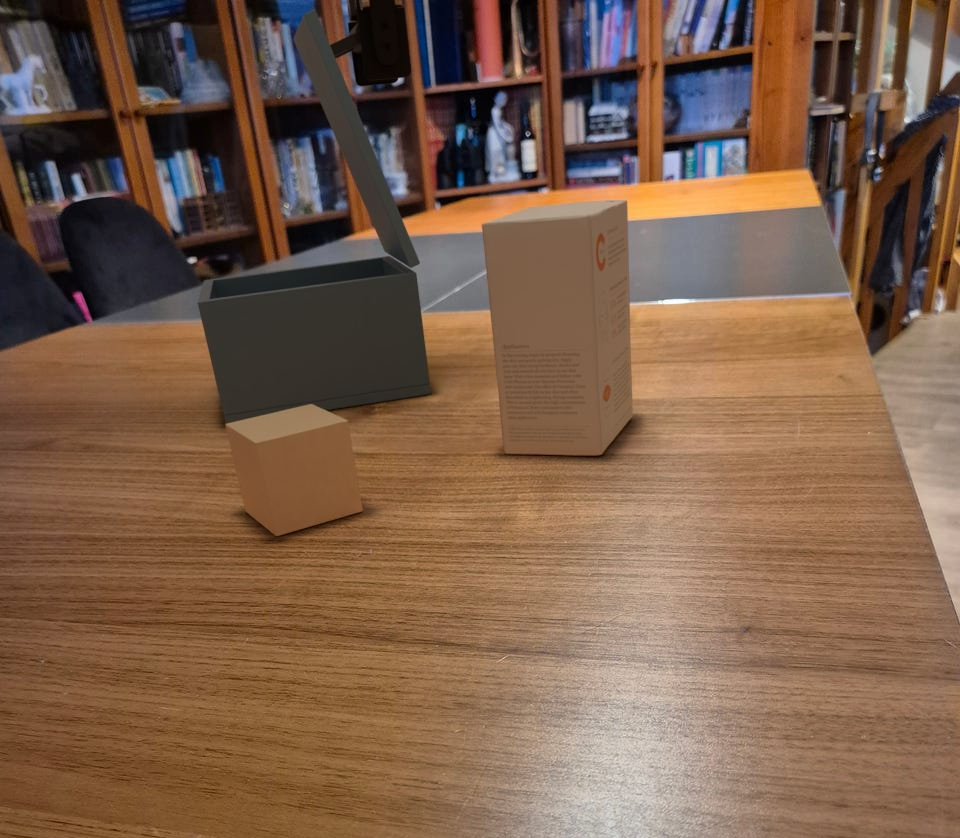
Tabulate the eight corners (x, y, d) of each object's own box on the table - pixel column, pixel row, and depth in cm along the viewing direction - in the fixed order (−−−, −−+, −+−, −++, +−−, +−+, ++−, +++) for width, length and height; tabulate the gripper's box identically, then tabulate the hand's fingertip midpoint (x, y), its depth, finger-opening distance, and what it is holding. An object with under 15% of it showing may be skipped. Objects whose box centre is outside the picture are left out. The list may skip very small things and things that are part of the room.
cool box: (226, 426, 69) (197, 302, 65) (227, 387, 81) (203, 280, 76) (431, 394, 71) (416, 272, 67) (403, 361, 83) (389, 255, 79)
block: (276, 537, 48) (255, 442, 46) (245, 511, 52) (224, 423, 49) (363, 511, 50) (348, 419, 48) (327, 489, 54) (311, 403, 51)
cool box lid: (303, 14, 59) (374, -20, 59) (292, 38, 70) (352, 10, 70) (410, 268, 67) (472, 238, 67) (384, 252, 79) (437, 226, 79)
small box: (542, 416, 63) (527, 205, 56) (634, 417, 60) (630, 197, 54) (500, 455, 56) (478, 221, 50) (602, 457, 54) (592, 212, 48)
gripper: (277, -205, 65) (322, 93, 74) (288, -311, 51) (343, 77, 59) (382, -210, 66) (414, 85, 75) (423, -315, 52) (457, 67, 60)
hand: (382, 78), depth 67 cm, fingers closed on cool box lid, 5 cm apart
